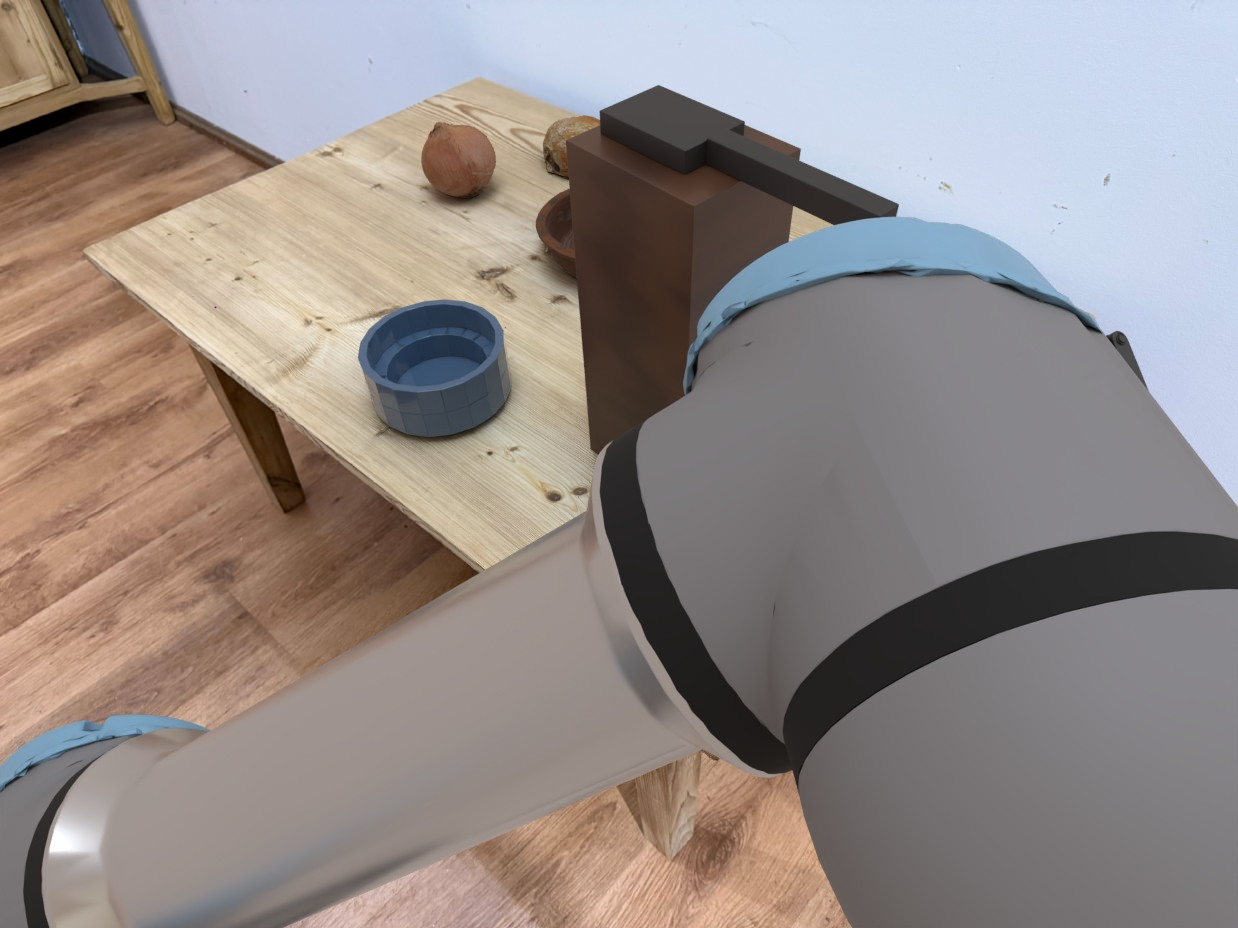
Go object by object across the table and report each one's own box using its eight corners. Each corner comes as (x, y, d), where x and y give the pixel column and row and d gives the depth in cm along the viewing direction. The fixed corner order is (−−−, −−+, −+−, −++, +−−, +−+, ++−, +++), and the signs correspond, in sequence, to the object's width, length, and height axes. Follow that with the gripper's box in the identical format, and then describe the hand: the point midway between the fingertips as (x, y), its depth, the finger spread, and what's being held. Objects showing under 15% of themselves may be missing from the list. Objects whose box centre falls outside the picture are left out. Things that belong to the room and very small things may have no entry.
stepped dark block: (912, 220, 49) (919, 191, 48) (853, 258, 47) (859, 229, 45) (658, 107, 60) (658, 81, 58) (600, 133, 57) (598, 107, 56)
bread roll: (541, 183, 119) (517, 143, 112) (585, 129, 121) (564, 86, 114) (592, 207, 115) (571, 166, 108) (637, 150, 116) (618, 107, 109)
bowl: (424, 464, 78) (409, 413, 73) (349, 393, 85) (331, 342, 81) (539, 394, 84) (532, 343, 79) (460, 333, 91) (449, 283, 87)
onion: (442, 208, 115) (402, 137, 110) (503, 174, 115) (466, 103, 110) (450, 218, 106) (407, 142, 102) (515, 182, 107) (476, 105, 102)
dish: (625, 329, 91) (624, 290, 87) (499, 248, 102) (493, 211, 98) (733, 262, 99) (736, 224, 95) (605, 194, 110) (603, 158, 106)
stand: (759, 462, 77) (801, 148, 55) (682, 521, 73) (693, 206, 51) (667, 398, 83) (671, 93, 61) (590, 449, 79) (565, 140, 57)
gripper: (1003, 772, 44) (755, 448, 46) (1211, 516, 55) (1004, 262, 57) (1125, 772, 37) (829, 392, 39) (1333, 481, 48) (1095, 194, 50)
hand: (932, 314), depth 48 cm, fingers open, 13 cm apart
